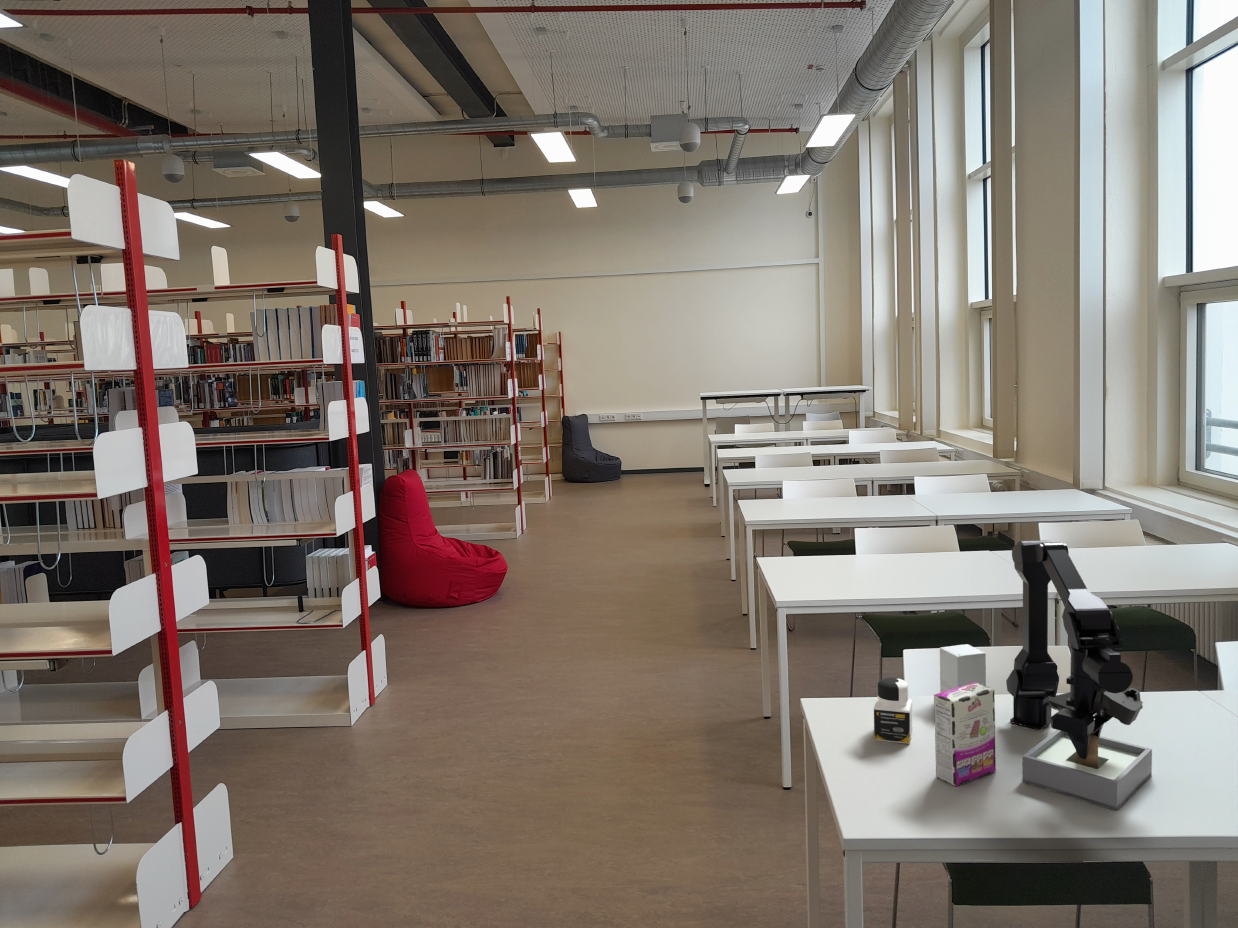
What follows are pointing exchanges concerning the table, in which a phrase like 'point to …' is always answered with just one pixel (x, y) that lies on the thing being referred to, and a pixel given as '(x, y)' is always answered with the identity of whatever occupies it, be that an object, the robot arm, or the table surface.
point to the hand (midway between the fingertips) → (1087, 754)
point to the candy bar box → (965, 733)
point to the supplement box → (961, 666)
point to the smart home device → (1062, 701)
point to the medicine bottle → (893, 712)
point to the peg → (1090, 754)
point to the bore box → (1088, 770)
